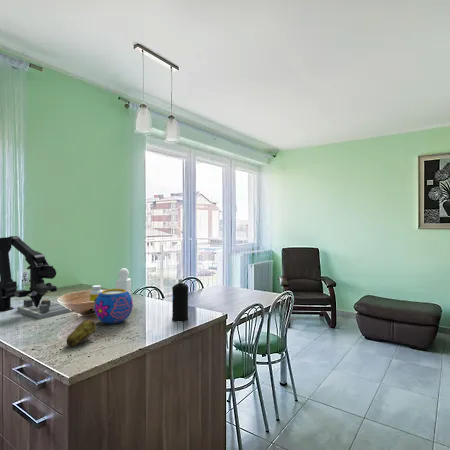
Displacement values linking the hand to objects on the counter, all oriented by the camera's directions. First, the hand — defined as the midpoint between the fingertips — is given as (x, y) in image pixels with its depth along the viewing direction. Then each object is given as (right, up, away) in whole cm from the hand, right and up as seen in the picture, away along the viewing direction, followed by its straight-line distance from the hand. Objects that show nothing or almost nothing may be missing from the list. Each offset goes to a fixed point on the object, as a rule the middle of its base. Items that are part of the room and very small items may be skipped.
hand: (36, 307), depth 165 cm
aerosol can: (+78, -4, -10) cm, 78 cm away
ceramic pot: (+46, -4, -14) cm, 48 cm away
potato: (+42, -4, -40) cm, 58 cm away
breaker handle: (+3, -1, +4) cm, 5 cm away
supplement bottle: (+29, -3, +8) cm, 30 cm away
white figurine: (+42, -3, +13) cm, 44 cm away
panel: (+3, -3, +4) cm, 6 cm away
